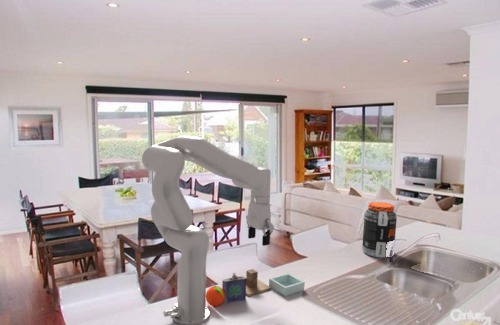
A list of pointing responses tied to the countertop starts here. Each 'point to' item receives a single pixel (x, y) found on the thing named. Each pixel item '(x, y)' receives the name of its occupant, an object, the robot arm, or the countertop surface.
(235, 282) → the flask
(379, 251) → the supplement tub
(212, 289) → the clementine
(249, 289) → the lid
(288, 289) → the dish
